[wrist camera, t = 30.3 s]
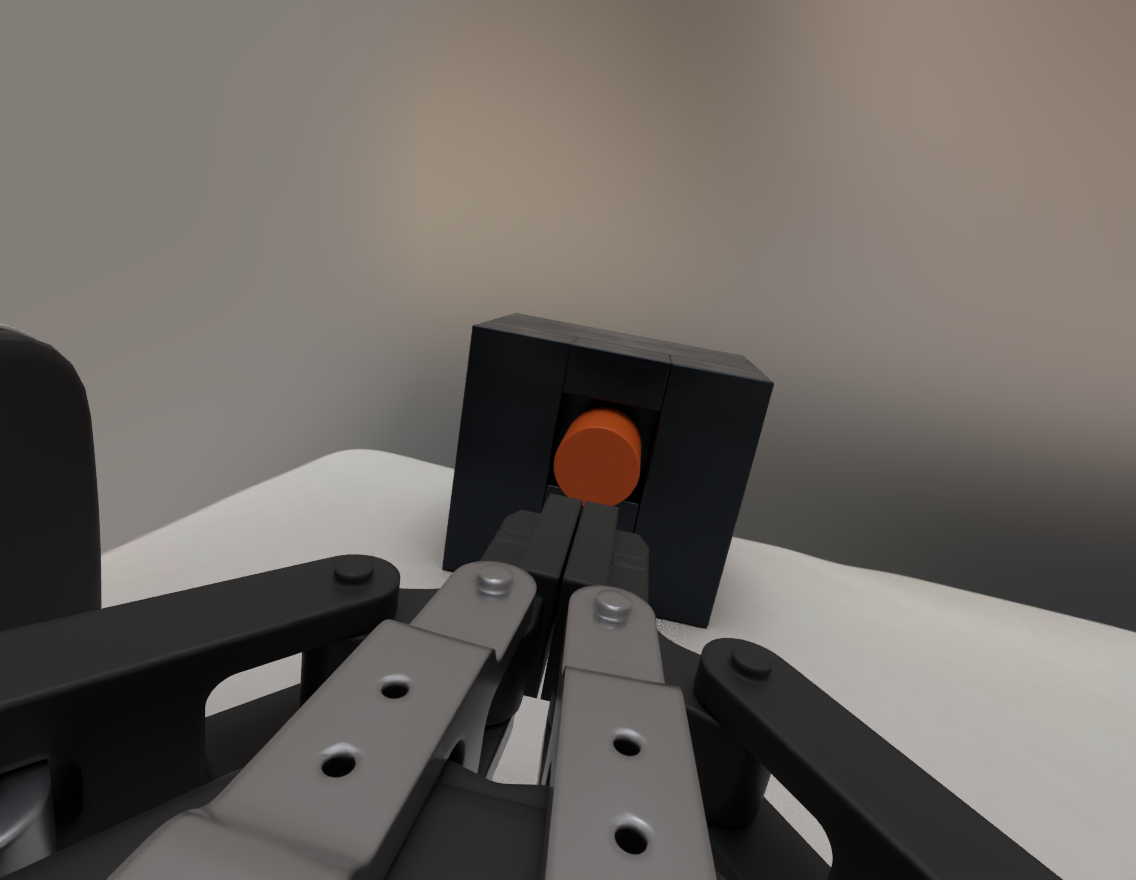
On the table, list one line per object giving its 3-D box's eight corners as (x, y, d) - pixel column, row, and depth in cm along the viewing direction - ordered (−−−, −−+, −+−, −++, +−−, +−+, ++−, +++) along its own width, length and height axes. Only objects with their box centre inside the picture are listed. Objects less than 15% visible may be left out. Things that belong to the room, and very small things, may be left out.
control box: (707, 629, 26) (775, 382, 23) (441, 569, 27) (472, 324, 24) (694, 548, 34) (744, 355, 31) (487, 504, 35) (515, 312, 32)
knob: (630, 517, 22) (648, 436, 22) (547, 499, 23) (561, 418, 22) (632, 485, 26) (648, 414, 25) (560, 470, 26) (573, 399, 25)
